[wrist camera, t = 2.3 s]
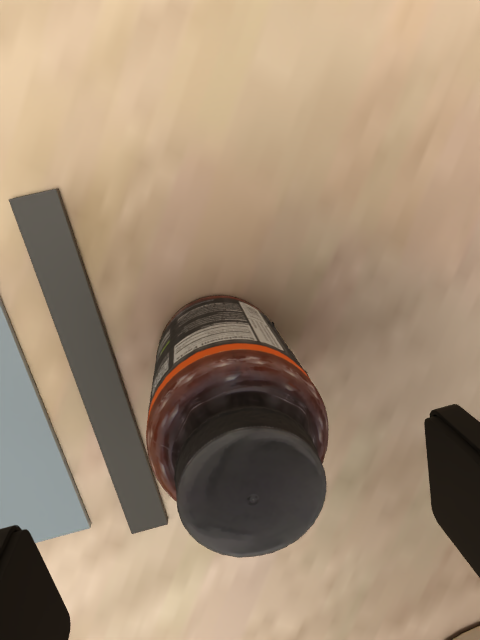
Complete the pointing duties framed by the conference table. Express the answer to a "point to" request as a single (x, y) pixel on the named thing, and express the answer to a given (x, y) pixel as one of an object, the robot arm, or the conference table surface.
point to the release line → (89, 354)
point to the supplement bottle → (236, 429)
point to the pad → (31, 454)
